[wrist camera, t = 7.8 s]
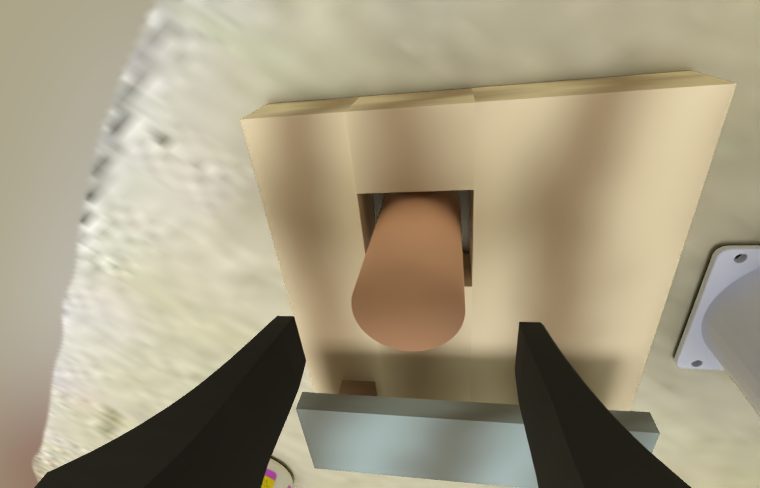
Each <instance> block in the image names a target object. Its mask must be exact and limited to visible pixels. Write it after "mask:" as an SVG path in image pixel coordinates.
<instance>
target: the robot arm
mask: <svg viewBox="0 0 760 488" xmlns="http://www.w3.org/2000/svg"><path fill="white" fill-rule="evenodd" d="M739 254H742V255H741V256H740V257H738V258H735V257H736V256H737V255H739ZM734 258H735V259H734ZM674 361H675V363H676V365H677V366H678V367H679V368H682V369H701V370H725V371H726V372H727V373H728V375H729V376H730V377H731V379H732V380H733V381H734V383H735V384H736V385H737V387H738V388H739V389H740V391H741V392H742V394H743V395H744V396H745V398H746V399H747V400H748V402H749V403H750V404H751V406H752V407H753V408H754V410H755V411H756V412H757V414H758V415H759V416H760V245H745V246H723V247H720V248H718V249H717V250H716V251H715V252H714V253H713V255H712V258H711V260H710V263H709V266H708V268H707V271H706V274H705V277H704V279H703V282H702V285H701V287H700V290H699V293H698V295H697V298H696V301H695V303H694V306H693V309H692V311H691V314H690V317H689V320H688V322H687V325H686V328H685V330H684V333H683V336H682V338H681V341H680V344H679V346H678V349H677V352H676V355H675V357H674ZM305 363H306V358H305V354H304V351H303V347H302V343H301V339H300V336H299V332H298V328H297V325H296V321H295V317H294V316H277V317H276V318H275V319H273V320H272V321H271V322H270V323H269V324H268V325H267V326H266V327H265V328H264V329H263V330H261V331H260V332H259V333H258V334H257V335H256V336H255V337H254V338H253V339H252V340H251V341H250V342H249V343H247V344H246V345H245V346H244V347H243V348H242V349H241V350H240V351H239V352H238V353H236V354H235V355H234V356H233V357H232V358H231V359H230V360H229V361H227V362H226V363H225V364H224V365H223V366H221V367H220V368H219V369H218V370H217V371H215V372H214V373H213V374H212V375H211V376H209V377H208V378H207V379H206V380H205V381H203V382H202V383H201V384H199V385H198V386H197V387H195V388H194V389H193V390H191V391H190V392H189V393H187V394H186V395H185V396H183V397H182V398H180V399H179V400H178V401H176V402H175V403H173V404H172V405H170V406H169V407H167V408H166V409H164V410H163V411H161V412H159V413H158V414H156V415H155V416H153V417H152V418H150V419H148V420H147V421H145V422H144V423H142V424H140V425H139V426H137V427H136V428H134V429H132V430H130V431H129V432H127V433H125V434H123V435H122V436H120V437H118V438H116V439H114V440H112V441H111V442H109V443H107V444H105V445H103V446H101V447H99V448H97V449H95V450H94V451H92V452H90V453H88V454H85V455H83V456H81V457H79V458H77V459H75V460H73V461H71V462H69V463H67V464H65V465H63V466H60V467H58V468H56V469H54V470H52V471H50V472H47V474H46V475H45V476H44V477H43V478H42V479H41V480H40V482H39V483H38V484H37V485H36V486H35V488H261V486H262V482H263V479H264V476H265V473H266V469H267V466H268V463H269V461H270V458H271V455H272V453H273V450H274V448H275V445H276V443H277V440H278V438H279V436H280V433H281V431H282V428H283V426H284V424H285V421H286V419H287V416H288V414H289V412H290V409H291V407H292V404H293V402H294V399H295V397H296V394H297V392H298V389H299V386H300V382H301V379H302V375H303V371H304V367H305ZM515 377H516V386H517V394H518V402H519V406H520V410H521V415H522V419H523V423H524V427H525V432H526V436H527V440H528V444H529V448H530V452H531V457H532V461H533V465H534V469H535V473H536V478H537V483H538V488H691V487H690V486H689V485H687V484H686V483H685V482H684V481H683V480H682V479H680V478H679V477H678V476H677V475H676V474H675V473H674V472H672V471H671V470H670V469H669V468H668V467H667V466H665V465H664V464H663V463H662V462H661V461H660V460H659V459H657V458H656V457H655V456H654V455H653V454H652V453H651V452H650V451H649V450H648V449H647V448H645V447H644V446H643V445H642V444H641V443H640V442H639V441H638V440H637V439H636V438H635V437H634V436H633V435H632V434H631V433H630V432H629V431H628V430H627V429H626V428H625V427H624V426H623V425H622V424H621V423H620V422H619V421H618V420H617V419H616V418H615V417H614V416H613V414H612V413H611V412H610V411H609V410H608V409H607V408H606V407H605V406H604V405H603V403H602V402H601V401H600V400H599V399H598V398H597V397H596V395H595V394H594V393H593V392H592V391H591V389H590V388H589V387H588V386H587V385H586V383H585V382H584V381H583V380H582V378H581V377H580V376H579V375H578V373H577V372H576V371H575V369H574V368H573V367H572V366H571V364H570V363H569V362H568V360H567V359H566V358H565V356H564V355H563V353H562V352H561V351H560V349H559V348H558V346H557V345H556V343H555V342H554V340H553V339H552V337H551V336H550V334H549V333H548V331H547V330H546V328H545V326H544V325H543V324H542V323H541V322H519V329H518V339H517V350H516V360H515Z"/></svg>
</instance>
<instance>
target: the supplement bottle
mask: <svg viewBox="0 0 760 488" xmlns="http://www.w3.org/2000/svg"><path fill="white" fill-rule="evenodd" d="M261 488H293V480H292V477H291V475H290V473H289V472H288V471H287V469H286V468H285V467H283V466H282V465H281V464H280V463H278V462H277V461H275V460H273V459H271V458H270V461H269V463H268V466H267V469H266V473H265V476H264V479H263V482H262V486H261Z"/></svg>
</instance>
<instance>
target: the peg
mask: <svg viewBox="0 0 760 488" xmlns="http://www.w3.org/2000/svg"><path fill="white" fill-rule="evenodd" d="M351 307H352V312H353V315H354V318H355V320H356V322H357V323H358V325H359V326H360V328H361V329H362V330H363V331H364V332H365V333H366V334H367V335H368V336H369V337H371V338H372V339H374V340H375V341H377V342H379V343H380V344H382V345H385V346H387V347H390V348H393V349H397V350H403V351H424V350H429V349H433V348H436V347H438V346H441V345H443V344H445V343H446V342H448V341H449V340H451V339H452V338H453V337H454V336H455V335H456V334H457V333H458V331H459V330H460V328H461V326H462V324H463V322H464V318H465V292H464V272H463V251H462V231H461V211H460V202H459V198H458V196H457V194H456V192H455V191H454V190H451V191H422V192H393V193H387V194H386V196H385V199H384V202H383V205H382V208H381V211H380V214H379V216H378V219H377V222H376V225H375V228H374V231H373V234H372V237H371V240H370V243H369V246H368V249H367V252H366V255H365V258H364V261H363V264H362V267H361V270H360V273H359V276H358V279H357V282H356V285H355V288H354V291H353V294H352V299H351Z"/></svg>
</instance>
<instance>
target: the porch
mask: <svg viewBox="0 0 760 488" xmlns="http://www.w3.org/2000/svg"><path fill="white" fill-rule="evenodd" d="M736 84H737V83H734V82H730V81H727V80H723V79H719V78H716V77H712V76H709V75H705V74H702V73H698V72H694V71H679V72H666V73H654V74H641V75H629V76H616V77H603V78H591V79H578V80H565V81H553V82H540V83H528V84H515V85H502V86H490V87H477V88H464V89H452V90H439V91H427V92H414V93H401V94H389V95H376V96H363V97H351V98H338V99H326V100H313V101H300V102H288V103H275V104H267V105H265V106H264V107H262V108H260V109H258V110H256V111H255V112H253V113H251V114H249V115H247V116H246V117H244V118H242V119H240V121H241V124H242V128H243V132H244V135H245V139H246V143H247V146H248V150H249V154H250V157H251V161H252V165H253V169H254V172H255V176H256V180H257V183H258V187H259V191H260V194H261V198H262V202H263V205H264V209H265V213H266V216H267V220H268V224H269V227H270V231H271V235H272V238H273V242H274V246H275V250H276V253H277V257H278V261H279V264H280V268H281V272H282V275H283V279H284V283H285V286H286V290H287V294H288V297H289V301H290V305H291V308H292V312H293V316H294V317H295V321H296V325H297V328H298V332H299V336H300V339H301V343H302V347H303V351H304V354H305V358H306V364H307V367H308V371H309V375H310V378H311V382H312V386H313V389H314V393H310V392H302V395H301V397H300V400H299V402H298V405H297V408H296V410H297V414H298V417H299V420H300V423H301V426H302V429H303V433H304V436H305V439H306V442H307V445H308V448H309V452H310V455H311V458H312V461H313V464H314V467H315V468H317V469H328V470H338V471H349V472H360V473H370V474H381V475H391V476H402V477H413V478H423V479H434V480H444V481H455V482H466V483H476V484H487V485H498V486H508V487H519V488H538V483H537V478H536V473H535V469H534V465H533V461H532V457H531V452H530V448H529V444H528V440H527V436H526V432H525V427H524V423H523V419H522V415H521V410H520V406H519V402H518V394H517V386H516V377H515V360H516V350H517V339H518V329H519V322H541V323H542V324H543V325H544V326H545V328H546V330H547V331H548V333H549V334H550V336H551V337H552V339H553V340H554V342H555V343H556V345H557V346H558V348H559V349H560V351H561V352H562V353H563V355H564V356H565V358H566V359H567V360H568V362H569V363H570V364H571V366H572V367H573V368H574V369H575V371H576V372H577V373H578V375H579V376H580V377H581V378H582V380H583V381H584V382H585V383H586V385H587V386H588V387H589V388H590V389H591V391H592V392H593V393H594V394H595V395H596V397H597V398H598V399H599V400H600V401H601V402H602V403H603V405H604V406H605V407H606V408H607V409H608V410H609V411H610V412H611V413H612V414H613V416H614V417H615V418H616V419H617V420H618V421H619V422H620V423H621V424H622V425H623V426H624V427H625V428H626V429H627V430H628V431H629V432H630V433H631V434H632V435H633V436H634V437H635V438H636V439H637V440H638V441H639V442H640V443H641V444H642V445H643V446H644V447H645V448H647V449H648V450H649V451H650V452H651V453H652V451H653V449H654V446H655V444H656V441H657V439H658V436H659V434H660V433H659V431H658V428H657V426H656V424H655V422H654V420H653V418H652V416H651V414H650V412H635V411H630V410H631V407H632V404H633V401H634V398H635V395H636V392H637V389H638V386H639V382H640V379H641V376H642V373H643V370H644V367H645V364H646V361H647V358H648V355H649V352H650V349H651V346H652V342H653V339H654V336H655V333H656V330H657V327H658V324H659V321H660V318H661V315H662V312H663V309H664V306H665V303H666V299H667V296H668V293H669V290H670V287H671V284H672V281H673V278H674V275H675V272H676V269H677V266H678V263H679V260H680V256H681V253H682V250H683V247H684V244H685V241H686V238H687V235H688V232H689V229H690V226H691V223H692V220H693V216H694V213H695V210H696V207H697V204H698V201H699V198H700V195H701V192H702V189H703V186H704V183H705V180H706V177H707V173H708V170H709V167H710V164H711V161H712V158H713V155H714V152H715V149H716V146H717V143H718V140H719V137H720V134H721V130H722V127H723V124H724V121H725V118H726V115H727V112H728V109H729V106H730V103H731V100H732V97H733V94H734V91H735V87H736ZM451 190H470V253H466V254H463V272H464V292H465V318H464V322H463V324H462V326H461V328H460V330H459V331H458V333H457V334H456V335H455V336H454V337H453V338H452V339H451V340H449V341H448V342H446V343H445V344H443V345H441V346H438V347H436V348H433V349H429V350H424V351H403V350H397V349H393V348H390V347H387V346H385V345H382V344H380V343H379V342H377V341H375V340H374V339H372V338H371V337H369V336H368V335H367V334H366V333H365V332H364V331H363V330H362V329H361V328H360V326H359V325H358V323H357V322H356V320H355V318H354V315H353V312H352V307H351V299H352V294H353V291H354V288H355V285H356V282H357V279H358V276H359V273H360V270H361V267H362V264H363V261H364V258H365V255H366V252H367V249H368V246H369V243H370V240H371V237H372V234H373V231H374V228H375V218H374V210H373V202H372V193H393V192H422V191H451Z"/></svg>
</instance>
